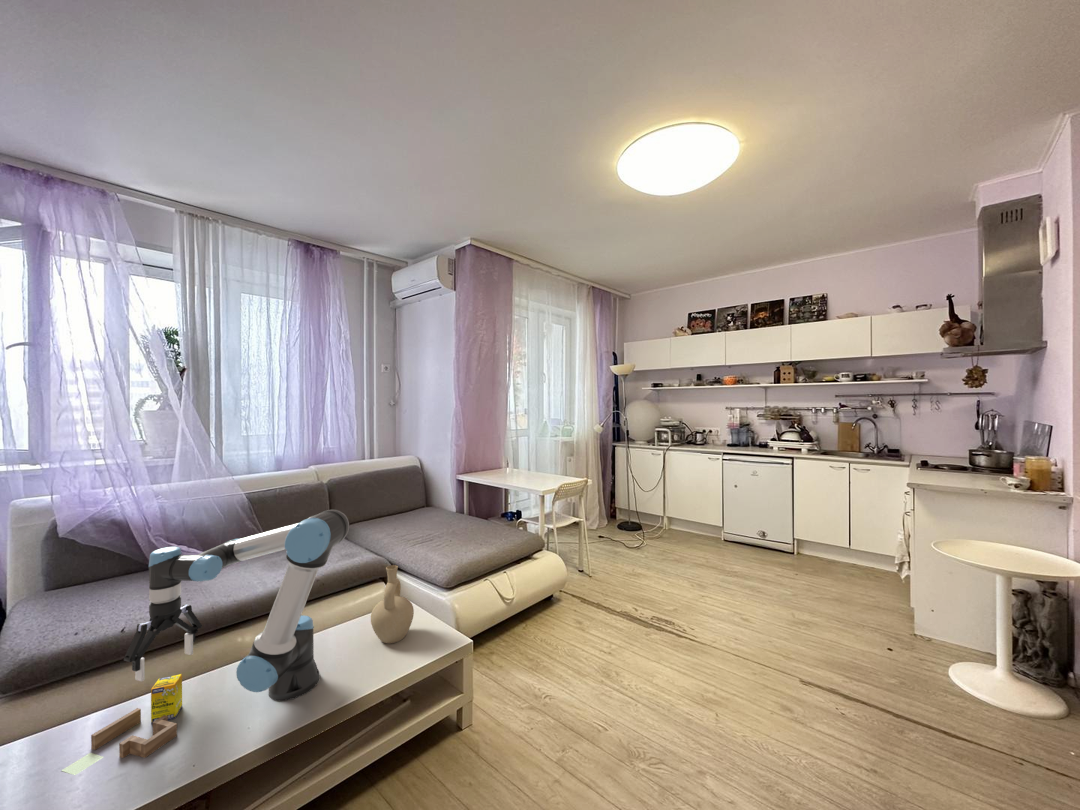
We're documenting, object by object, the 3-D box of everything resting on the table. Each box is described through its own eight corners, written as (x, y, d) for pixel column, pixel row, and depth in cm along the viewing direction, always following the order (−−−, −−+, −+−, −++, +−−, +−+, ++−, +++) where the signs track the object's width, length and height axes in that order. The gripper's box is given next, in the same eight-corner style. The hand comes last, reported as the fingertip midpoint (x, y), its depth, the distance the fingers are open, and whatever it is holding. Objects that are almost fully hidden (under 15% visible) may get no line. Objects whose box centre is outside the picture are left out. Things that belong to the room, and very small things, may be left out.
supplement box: (150, 725, 129) (150, 689, 129) (159, 712, 134) (158, 677, 134) (175, 719, 131) (174, 684, 131) (182, 706, 137) (182, 672, 136)
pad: (114, 760, 116) (114, 760, 116) (86, 779, 110) (86, 779, 110) (90, 753, 119) (90, 752, 119) (61, 770, 113) (61, 770, 113)
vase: (377, 630, 181) (376, 560, 181) (417, 628, 183) (416, 558, 183) (365, 653, 165) (364, 576, 165) (409, 650, 166) (408, 574, 166)
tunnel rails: (182, 733, 125) (182, 719, 125) (138, 763, 115) (138, 749, 115) (137, 720, 131) (137, 707, 130) (91, 749, 120) (91, 734, 120)
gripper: (198, 581, 146) (198, 642, 146) (107, 616, 122) (107, 689, 122) (214, 583, 143) (214, 646, 144) (125, 619, 119) (125, 694, 120)
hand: (165, 666), depth 133 cm, fingers open, 13 cm apart
